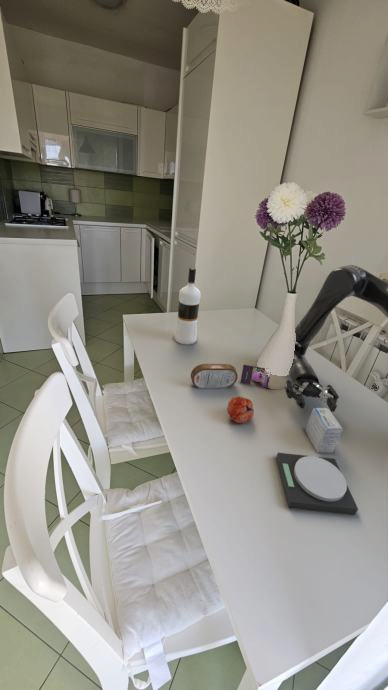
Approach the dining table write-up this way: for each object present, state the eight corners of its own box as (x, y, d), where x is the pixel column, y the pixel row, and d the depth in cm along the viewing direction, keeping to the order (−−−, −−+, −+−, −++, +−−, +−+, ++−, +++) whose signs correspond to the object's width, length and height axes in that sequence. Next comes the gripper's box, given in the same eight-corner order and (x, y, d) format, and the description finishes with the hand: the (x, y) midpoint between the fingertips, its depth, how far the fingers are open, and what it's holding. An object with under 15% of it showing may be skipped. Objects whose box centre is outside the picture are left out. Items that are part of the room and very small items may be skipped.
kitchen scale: (331, 465, 75) (336, 455, 73) (354, 516, 63) (360, 506, 61) (275, 459, 74) (278, 449, 73) (287, 509, 63) (291, 498, 61)
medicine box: (332, 454, 78) (343, 428, 74) (316, 453, 78) (326, 428, 73) (319, 431, 85) (328, 407, 81) (304, 431, 84) (313, 407, 80)
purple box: (243, 365, 100) (271, 370, 99) (243, 362, 105) (269, 366, 104) (240, 384, 101) (267, 389, 100) (239, 380, 106) (265, 385, 105)
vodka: (178, 346, 120) (185, 271, 106) (171, 336, 128) (176, 265, 114) (200, 344, 124) (209, 271, 110) (191, 334, 131) (198, 265, 117)
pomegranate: (220, 422, 87) (238, 425, 78) (219, 397, 88) (236, 396, 79) (242, 421, 90) (262, 423, 81) (241, 396, 91) (260, 395, 82)
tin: (233, 384, 101) (237, 362, 98) (236, 389, 99) (240, 367, 95) (189, 384, 98) (191, 362, 95) (190, 390, 96) (193, 368, 92)
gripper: (283, 362, 96) (296, 393, 81) (327, 367, 96) (348, 399, 82) (277, 382, 99) (289, 415, 85) (320, 387, 99) (339, 421, 85)
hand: (318, 407), depth 83 cm, fingers open, 8 cm apart
